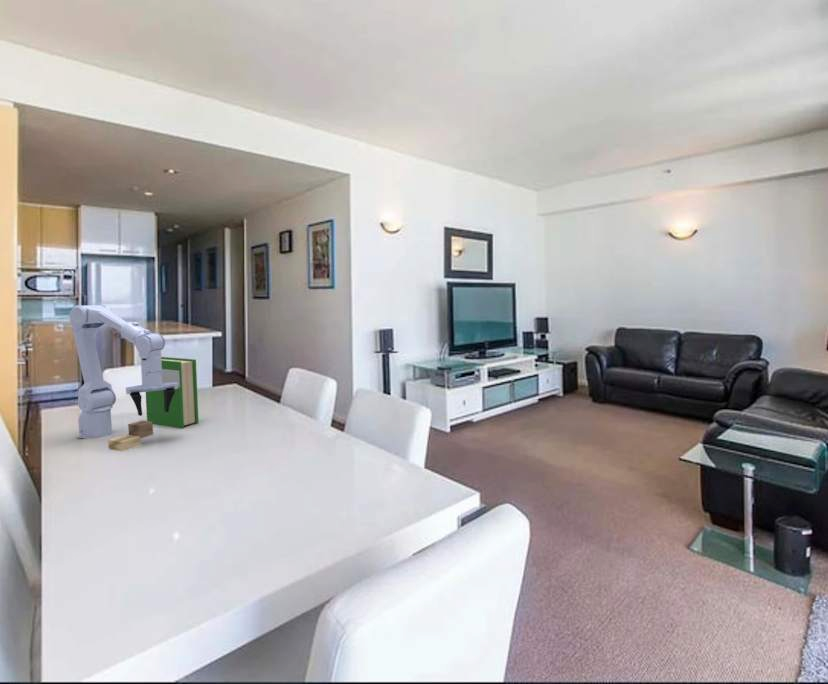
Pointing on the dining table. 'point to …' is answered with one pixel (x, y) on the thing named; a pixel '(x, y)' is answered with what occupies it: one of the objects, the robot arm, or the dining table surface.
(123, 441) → the oak block
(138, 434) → the walnut cube
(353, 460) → the dining table surface
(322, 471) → the dining table surface
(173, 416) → the hardback book
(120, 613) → the dining table surface
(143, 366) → the robot arm
